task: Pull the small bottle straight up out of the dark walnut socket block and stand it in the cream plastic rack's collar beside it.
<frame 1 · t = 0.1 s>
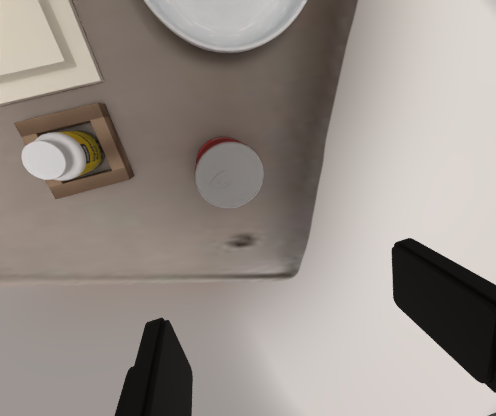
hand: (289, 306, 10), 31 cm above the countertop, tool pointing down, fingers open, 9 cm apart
cream rack: (18, 31, 30), on the countertop
supplement bottle: (84, 150, 35), resting in walnut socket block
canned food: (222, 162, 39), on the countertop
walnut socket block: (84, 150, 35), on the countertop
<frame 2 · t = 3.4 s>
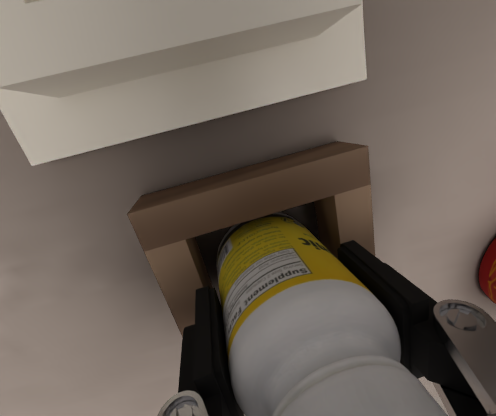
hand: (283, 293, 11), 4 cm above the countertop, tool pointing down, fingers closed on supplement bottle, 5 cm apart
supplement bottle: (263, 251, 14), resting in walnut socket block, touching gripper
walnut socket block: (264, 253, 14), on the countertop
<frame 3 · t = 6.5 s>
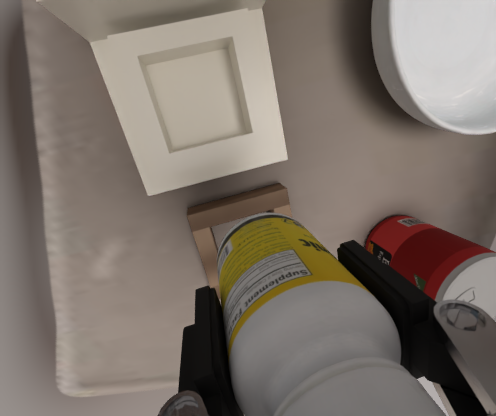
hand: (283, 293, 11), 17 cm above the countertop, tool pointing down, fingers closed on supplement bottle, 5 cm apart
cream rack: (199, 102, 23), on the countertop
supplement bottle: (263, 252, 14), point 13 cm above the countertop, touching gripper
serving bowl: (436, 25, 25), on the countertop
canned food: (390, 241, 33), on the countertop
walnut socket block: (245, 236, 28), on the countertop
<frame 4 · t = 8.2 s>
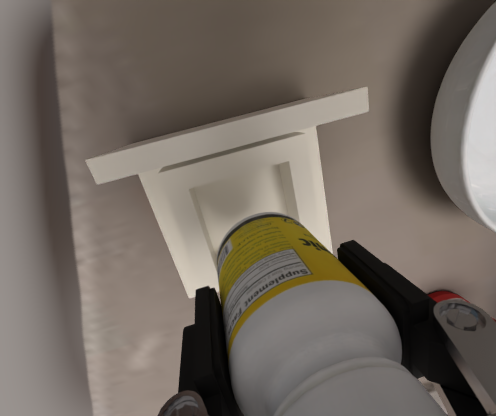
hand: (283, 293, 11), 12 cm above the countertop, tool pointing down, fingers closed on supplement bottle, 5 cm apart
cream rack: (242, 202, 22), on the countertop
supplement bottle: (263, 252, 14), point 8 cm above the countertop, touching gripper
serving bowl: (493, 108, 24), on the countertop
when the fingers open (6 cm above the countertop, at t = 9.7 s): supplement bottle drops 1 cm, resting on cream rack.
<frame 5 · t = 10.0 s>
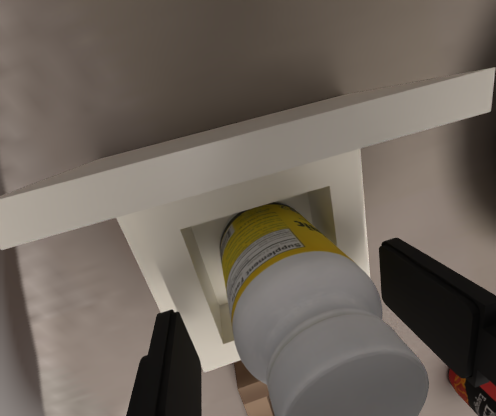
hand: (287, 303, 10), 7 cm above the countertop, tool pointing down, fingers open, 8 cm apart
cream rack: (255, 235, 16), on the countertop
supplement bottle: (262, 238, 15), point 1 cm above the countertop, touching cream rack
canned food: (478, 358, 26), on the countertop
walnut socket block: (304, 378, 22), on the countertop
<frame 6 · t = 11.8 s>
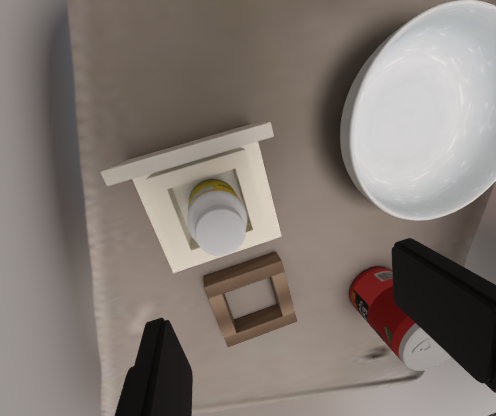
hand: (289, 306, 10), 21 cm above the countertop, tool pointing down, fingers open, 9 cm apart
cream rack: (210, 200, 30), on the countertop
supplement bottle: (213, 200, 29), point 1 cm above the countertop, touching cream rack
serving bowl: (395, 124, 32), on the countertop
canned food: (370, 286, 39), on the countertop
walnut socket block: (249, 293, 35), on the countertop
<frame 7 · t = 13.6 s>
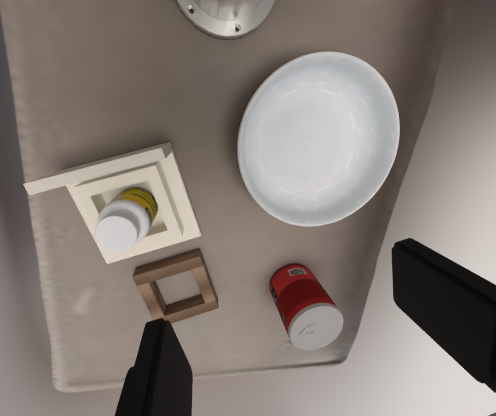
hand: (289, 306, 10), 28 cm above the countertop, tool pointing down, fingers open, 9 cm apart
cream rack: (138, 203, 36), on the countertop
supplement bottle: (138, 204, 35), point 1 cm above the countertop, touching cream rack
serving bowl: (301, 143, 37), on the countertop
canned food: (290, 281, 45), on the countertop
walnut socket block: (179, 283, 41), on the countertop
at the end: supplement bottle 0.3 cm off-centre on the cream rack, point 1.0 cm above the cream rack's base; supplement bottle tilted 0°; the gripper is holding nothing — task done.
